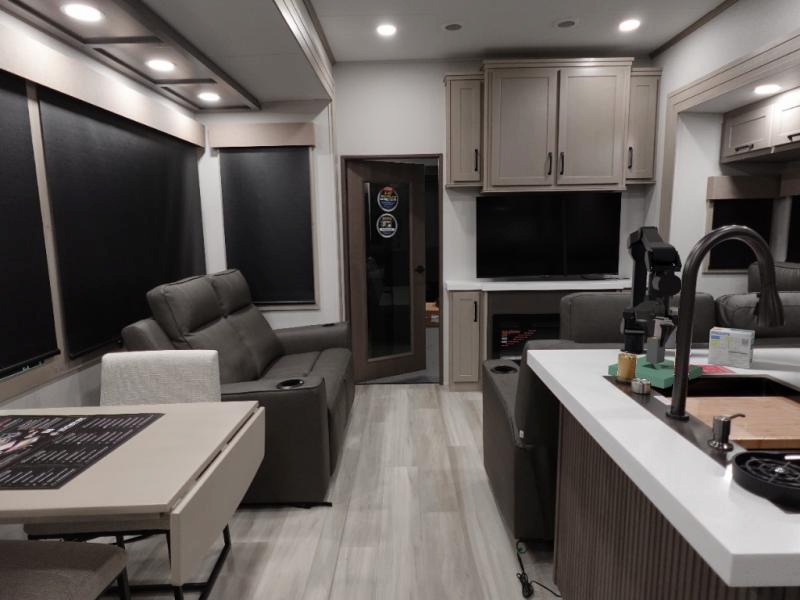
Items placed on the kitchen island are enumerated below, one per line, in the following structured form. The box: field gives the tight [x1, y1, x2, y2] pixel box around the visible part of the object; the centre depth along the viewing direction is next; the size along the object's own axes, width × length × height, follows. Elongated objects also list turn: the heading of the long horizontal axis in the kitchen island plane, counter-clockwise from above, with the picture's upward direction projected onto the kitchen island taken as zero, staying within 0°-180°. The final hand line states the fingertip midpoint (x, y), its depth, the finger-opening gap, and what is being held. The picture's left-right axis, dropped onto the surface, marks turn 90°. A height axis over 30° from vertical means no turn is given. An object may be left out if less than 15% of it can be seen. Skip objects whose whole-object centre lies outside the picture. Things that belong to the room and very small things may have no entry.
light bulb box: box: [707, 326, 756, 370], centre depth 145 cm, size 11×7×11 cm, turn 47°
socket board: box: [607, 355, 704, 389], centre depth 136 cm, size 20×16×2 cm
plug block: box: [645, 336, 666, 364], centre depth 135 cm, size 4×3×7 cm
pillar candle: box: [654, 306, 679, 350], centre depth 169 cm, size 10×10×15 cm
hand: (656, 346), depth 135 cm, fingers closed on plug block, 3 cm apart
